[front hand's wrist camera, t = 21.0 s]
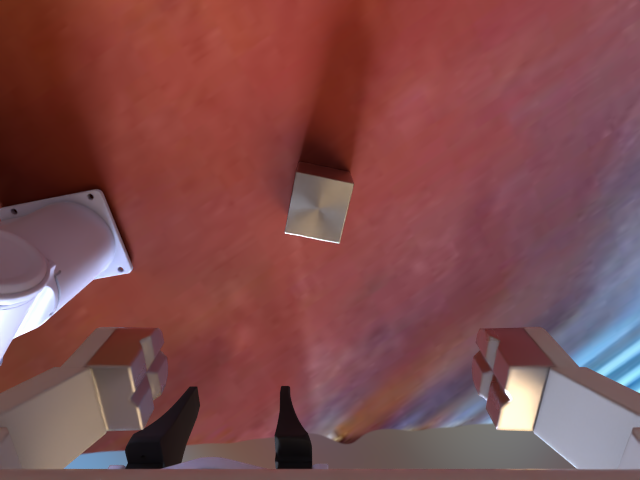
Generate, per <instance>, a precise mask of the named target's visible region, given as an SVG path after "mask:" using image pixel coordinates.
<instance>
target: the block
mask: <svg viewBox="0 0 640 480" xmlns="http://www.w3.org/2000/svg"><path fill="white" fill-rule="evenodd" d="M353 186H354V183H353V180H352V177H351V174H350V172H349V171H344V170H339V169H334V168H330V167H325V166H320V165H315V164H310V163H306V162H301V161H299V162H298V166H297V170H296V175H295V180H294V185H293V191H292V196H291V201H290V207H289V212H288V217H287V223H286V228H285V233H288V234H293V235H298V236H303V237H308V238H314V239H319V240H324V241H329V242H334V243H340V239H341V235H342V231H343V227H344V223H345V219H346V215H347V211H348V207H349V203H350V198H351V194H352V190H353Z"/></svg>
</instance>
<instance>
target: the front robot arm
mask: <svg viewBox="0 0 640 480" xmlns="http://www.w3.org/2000/svg"><path fill="white" fill-rule="evenodd" d="M163 344H164V339H163V334H162V331H161V330H160V329H159V328H132V327H120V328H119V327H100V328H97V329H95V330H94V331H93V333H92V334H91V335H90V336H89V337H88V338H87V339H86V340H85V341H84V342H83V343H82V345H81V346H80V347H79V348H78V349H77V350H76V351H75V352H74V353H73V354H72V355H71V356H70V358H69V359H68V360H67V361H66V362H65V363H64V364H63V365H62V366H61V367H54V368H52V369H50V370H47V371H45V372H43V373H41V374H39V375H37V376H35V377H33V378H31V379H29V380H27V381H25V382H23V383H21V384H19V385H17V386H14V387H12V388H10V389H8V390H6V391H4V392H2V393H0V480H640V393H638V392H636V391H634V390H632V389H630V388H627V387H625V386H623V385H621V384H619V383H617V382H615V381H613V380H611V379H609V378H607V377H605V376H603V375H601V374H599V373H597V372H595V371H593V370H590V369H588V368H586V367H579V366H578V365H577V364H576V363H575V362H574V361H573V360H572V359H571V358H570V356H569V355H568V354H567V353H566V352H565V351H564V350H563V349H562V348H561V347H560V346H559V344H558V343H557V342H556V341H555V340H554V339H553V338H552V337H551V336H550V335H549V334H548V332H547V331H546V330H545V329H543V328H541V327H522V328H487V329H480V330H479V332H478V334H477V339H476V344H477V345H478V347H479V349H480V351H479V352H478V353H477V354H476V355H475V356H474V357H473V363H472V375H473V381H474V385H475V388H476V390H477V392H478V394H479V395H480V396H482V397H483V398H484V399H486V400H487V405H486V410H487V412H488V413H489V415H490V417H491V419H492V421H493V423H494V425H495V427H496V429H497V430H518V431H534V433H535V434H536V435H537V436H538V437H539V438H541V439H542V440H543V441H544V442H545V443H547V444H548V445H549V446H550V447H551V448H553V449H554V450H555V451H556V452H558V453H559V454H560V455H561V456H562V457H564V458H565V459H566V460H567V461H568V462H570V463H571V464H572V465H573V466H574V467H576V468H577V469H63V468H64V467H66V466H67V465H68V464H69V463H71V462H72V461H73V460H74V459H75V458H77V457H78V456H79V455H80V454H81V453H83V452H84V451H85V450H86V449H87V448H89V447H90V446H91V445H92V444H94V443H95V442H96V441H97V440H98V439H100V438H101V437H102V436H103V435H104V434H106V431H122V430H143V429H144V427H145V425H146V423H147V421H148V419H149V417H150V415H151V413H152V412H153V410H154V405H153V400H154V399H156V398H157V397H158V396H160V395H161V394H162V392H163V390H164V388H165V385H166V381H167V376H168V362H167V357H166V356H165V355H164V354H163V353H162V352H161V351H160V349H161V347H162V345H163Z"/></svg>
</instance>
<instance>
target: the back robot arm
mask: <svg viewBox="0 0 640 480" xmlns="http://www.w3.org/2000/svg"><path fill="white" fill-rule="evenodd" d="M90 194H92V195H93V198H91V197H90ZM14 209H15V210H17V213H16V212H15V211H14ZM0 219H1V221H0V366H1V364H2V361H3V355H4V353H5V352H6V350H7V348H8V346H9V344H10V343H11V341H12V339H13V338H16V337H18V336H19V335H22V334H24V333H26V332H28V331H31V330H33V329H35V328H37V327H39V326H40V325H42V324H43V323H44V322H46V321H47V320H48V319H49V318H50V317H51V316H52V315H53V314H54V313H56V312H57V311H58V310H59V309H60V308H61V307H62V306H64V305H65V304H66V303H67V302H68V301H69V300H70V299H72V298H73V297H74V296H75V295H76V294H77V293H78V292H80V291H81V290H82V289H83V288H84V287H85V286H86V285H88V284H89V283H90V282H91V281H92V280H93V279H98V278H104V277H109V276H115V275H120V274H126V273H129V272H131V271H132V269H133V266H132V263H131V261H130V258H129V256H128V253H127V251H126V248H125V246H124V243H123V241H122V238H121V236H120V233H119V231H118V229H117V226H116V224H115V221H114V219H113V216H112V214H111V211H110V209H109V206H108V204H107V201H106V199H105V196H104V194H103V192H102V191H101V190H99V189H93V190H88V191H83V192H78V193H73V194H68V195H63V196H58V197H53V198H48V199H43V200H38V201H33V202H27V203H22V204H17V205H12V206H7V207H3V208H0ZM120 267H122V268H123V270H121V269H120ZM199 407H200V402H199V396H198V389H197V387H189V388H188V389H187V391H186V392H185V393H184V394H183V395H182V397H181V398H180V399H179V400H178V401H177V402H176V403H175V404H174V405H173V406H172V407H171V408H170V409H169V410H168V411H167V412H166V413H165V414H164V415H163V416H162V417H160V418H159V419H158V420H156V421H155V422H154V423H152V424H151V425H149V426H148V427H146V428H144V429H143V430H141V431H139V432H137V433H135V434H133V436H132V437H131V439H130V440H129V442H128V444H127V446H126V449H125V453H126V457H127V461H128V464H127V466H126V467H125V466H124V465H110V466H109V468H108V469H266V468H262V467H258V466H254V465H250V464H247V463H243V462H239V461H235V460H231V459H226V458H221V457H203V458H198V459H194V460H190V461H187V462H183V463H181V462H182V458H183V454H184V451H185V447H186V444H187V441H188V438H189V436H190V433H191V431H192V429H193V426H194V423H195V421H196V418H197V415H198V411H199ZM275 449H276V457H275V464H276V469H329V467H328V464H314V465H313V466H312V445H311V441H310V438H309V435H308V433H307V432H306V431H305V429H304V428H303V427H302V425H301V423H300V422H299V420H298V418H297V416H296V414H295V411H294V408H293V405H292V402H291V397H290V387H289V386H281V391H280V413H279V419H278V424H277V429H276V432H275Z"/></svg>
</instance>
